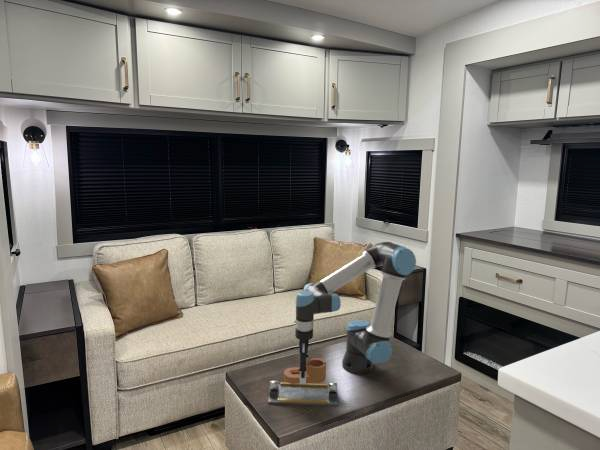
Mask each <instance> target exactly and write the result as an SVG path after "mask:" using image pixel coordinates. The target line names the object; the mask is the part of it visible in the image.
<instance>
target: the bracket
mask: <svg viewBox="0 0 600 450" xmlns="http://www.w3.org/2000/svg"><path fill="white" fill-rule="evenodd" d="M298 369H300V366H297V367H295V366H294V367H287V368H285V369H284V371H283V380H284V382H285V383H291V384H300V370H298ZM326 376H327V361H326V360H324V359H322V358H320V357H319V358H317V357H315V358H313V357H312V358H309V359H307V367H306V383H310V384H322V383H323V382H325V381H326Z"/></svg>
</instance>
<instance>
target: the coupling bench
mask: <svg viewBox="0 0 600 450" xmlns="http://www.w3.org/2000/svg"><path fill="white" fill-rule="evenodd" d="M268 392H269V396H268V400H267V402H268V404H271V405H272V404H274V405H275V404H276V405H298V406H299V405H301V406H324V407H338V383H337V382H328V384H327V383H306V384H291V383H287V382H282V381H281V382H280V384H279V380H269V391H268Z"/></svg>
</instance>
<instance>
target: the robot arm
mask: <svg viewBox="0 0 600 450" xmlns="http://www.w3.org/2000/svg"><path fill="white" fill-rule="evenodd" d="M416 264H417V259H416V255H415V254H414V252H413V251H412V250H411V249H410V248H407V247H406V246H403V245H399V244H397V243H393V242H392V241H382V242H379V243H376V244H374V245H371V246H370V247H368V248H367V249H365V250H363V251H362V253H361V255H359V256H358V257H356V258H355V259H353V260H351V261H350V262H348V263H347V264H345V265H343V266H341V267H340V268H338V269H337V270H335V271H333V272H332V273H330V274H328V275H327V276H325V277H324V278H322V279H321V280H318V281H317V282H315V283H307V284H305V285H304V287H303V290H302V291H299V292H298V293H297V294H296V298H295V319H294V320H293V323H295V328H294V329H295V331H294V332H295V333H294V335H295V338H296V339H297V340H299V341H298V343H299V353H300V355H299V356H300V358H299V363H300V364H299V367H300V369H298V370H300V384H306V367H307V361H308V358H309V354H308V353H309V352H308V351H309V346H310V345H309V343H310V342H309V340H312V339H313V338H314V324H315V323H314V320H315V319H314V316H315V315H318V314H319V315H320V314H326V313H333V312H338V311H339V310H340V309H341V304H342V302H341V298H340V296H339V294H338V293H334V292H335V291H337V290H338V289H340V288H342V287H344V286H345V285H347V284H348V283H349V282H352V280H354V279H356V278H357V277H359V276H361V275H362V274H364V273H366V272H367V271H369V270H370V269H373V270H374V269H376V268H378V267H381V271H380V273H381V274H382V279H381V284H380V288H379V291H378V295H377V298H376V303H375V306H374V310H373V313H372V317H371V320H370V321H367V320H363V319H355V320H351V321H349V322H348V323H347V326H346V347H345V348H346V350H345V353H344V355H343V358H342V362H341V363H342V365H341V366H342V368H343V369H344V370H345V371H347V372H349V373H352V374H354V375H355V374H356V375H361V374H362V375H363V374H368V373H370V372H372V371H373V370H374V369H373V368H374V364H377V365H378V364H383V363H384V362H386V361H388V360H389V359H390V357H391V356H392V353H393V346H392V344H391V343H390V340H391V337H392V334H391V333H390V327H391V324H392V319H393V315H394V314H395V313H394V312H395V309H396V305H397V301H398V297H399V294H400V290H401V286H402V283H403V281H405V280H406V279H407V277H408V275H410V274H412V273H413V271H414V270H415V268H416Z"/></svg>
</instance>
